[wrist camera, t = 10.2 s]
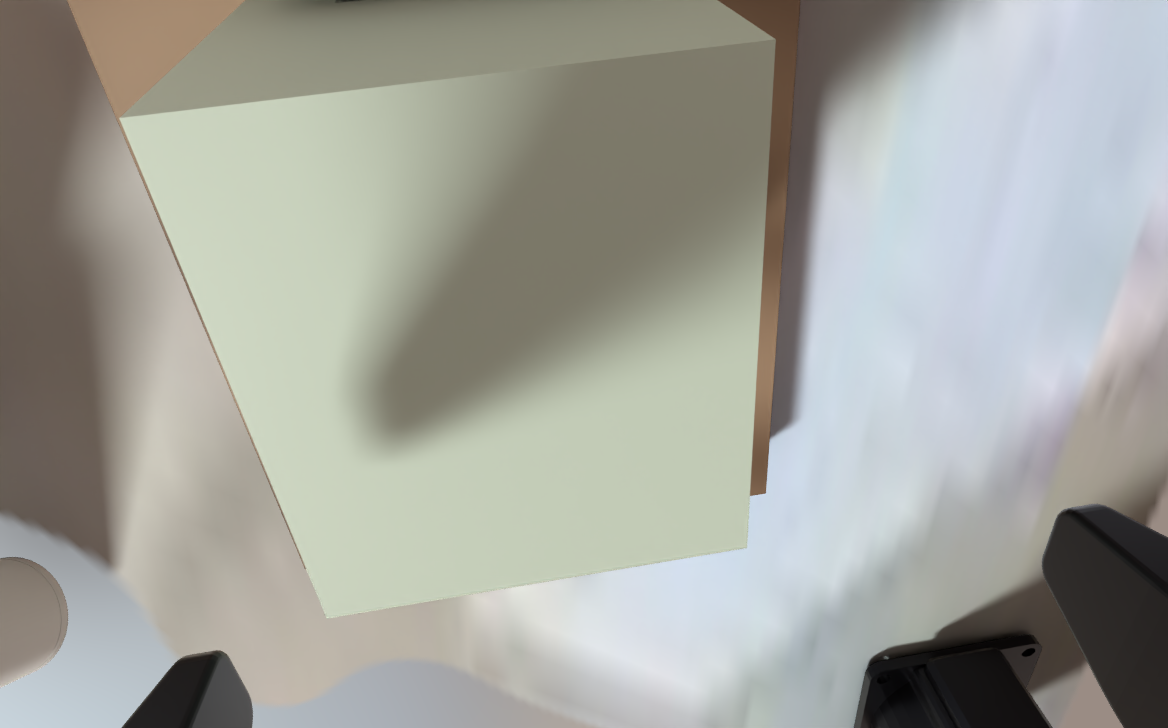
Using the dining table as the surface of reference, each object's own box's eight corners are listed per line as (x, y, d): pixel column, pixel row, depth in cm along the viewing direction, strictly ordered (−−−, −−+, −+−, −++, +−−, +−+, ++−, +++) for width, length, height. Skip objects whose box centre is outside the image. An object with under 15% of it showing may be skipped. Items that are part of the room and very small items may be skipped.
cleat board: (747, 456, 22) (808, 582, 19) (313, 525, 21) (286, 673, 18) (785, -275, 13) (918, -310, 9) (26, -205, 12) (-154, -214, 9)
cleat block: (646, 305, 17) (746, 547, 12) (366, 345, 17) (326, 618, 11) (631, -58, 13) (775, 40, 8) (263, -17, 13) (119, 118, 7)
